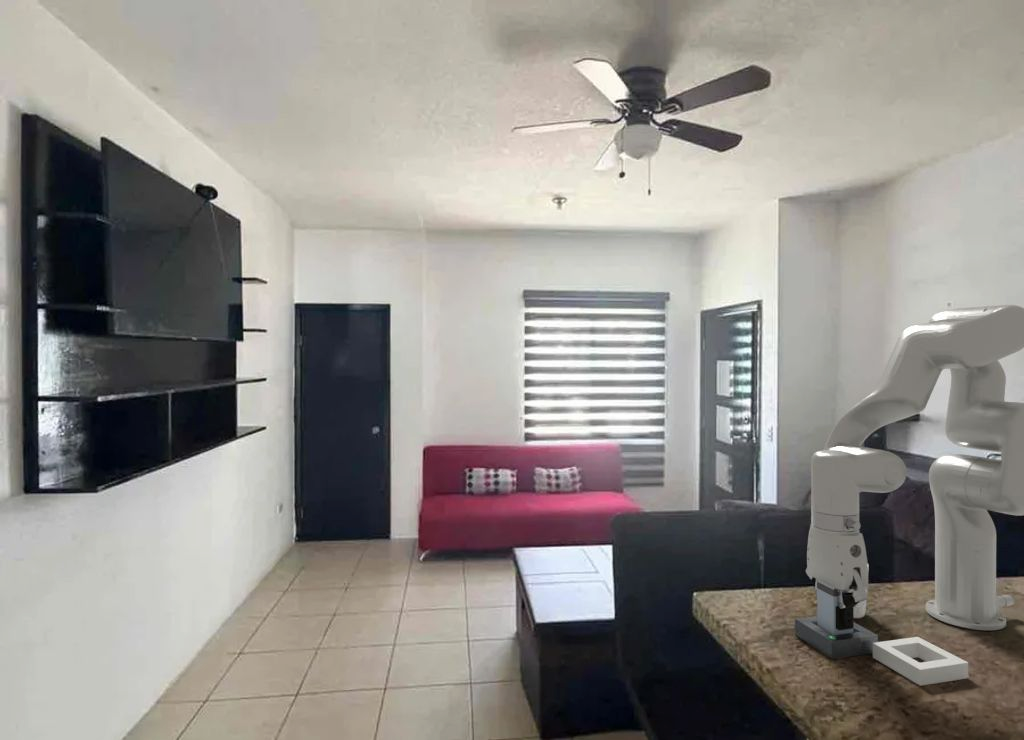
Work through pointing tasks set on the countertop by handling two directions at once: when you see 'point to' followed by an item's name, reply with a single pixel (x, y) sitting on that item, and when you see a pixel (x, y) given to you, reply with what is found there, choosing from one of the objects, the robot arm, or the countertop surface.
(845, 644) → the port
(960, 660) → the holster
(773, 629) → the countertop surface
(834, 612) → the plug
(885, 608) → the countertop surface
